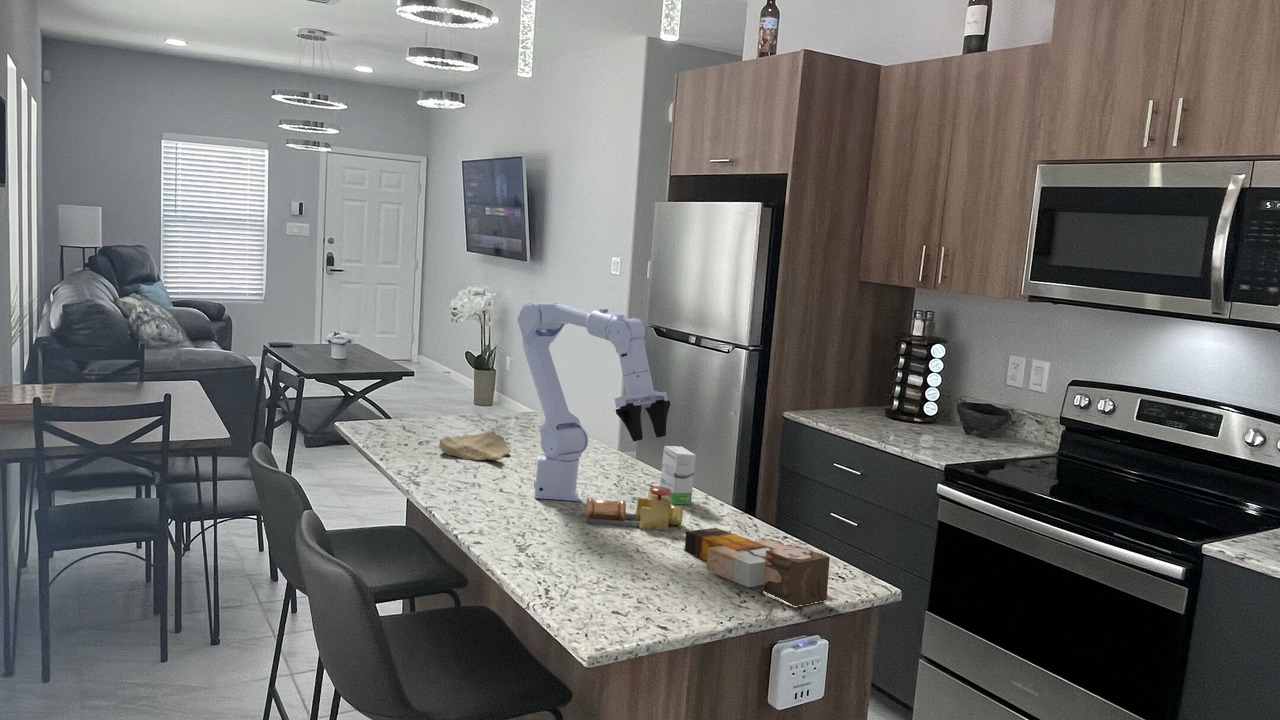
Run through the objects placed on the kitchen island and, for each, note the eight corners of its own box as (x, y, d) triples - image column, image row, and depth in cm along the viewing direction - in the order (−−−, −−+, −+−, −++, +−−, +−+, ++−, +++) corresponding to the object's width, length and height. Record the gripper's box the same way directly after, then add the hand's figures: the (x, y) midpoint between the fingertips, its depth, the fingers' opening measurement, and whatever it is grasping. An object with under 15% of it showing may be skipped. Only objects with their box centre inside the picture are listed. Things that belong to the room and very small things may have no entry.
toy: (730, 516, 188) (844, 554, 164) (727, 554, 189) (840, 598, 165) (671, 523, 179) (782, 565, 155) (668, 563, 180) (779, 611, 156)
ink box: (691, 504, 214) (697, 454, 213) (672, 504, 212) (678, 454, 211) (676, 493, 222) (682, 445, 221) (657, 493, 220) (663, 445, 219)
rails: (586, 523, 192) (586, 518, 192) (584, 515, 198) (585, 510, 197) (639, 527, 194) (639, 522, 193) (636, 518, 199) (636, 514, 199)
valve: (639, 528, 193) (643, 493, 192) (635, 517, 200) (639, 482, 199) (682, 531, 194) (686, 496, 193) (676, 520, 201) (680, 485, 200)
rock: (522, 454, 244) (524, 438, 244) (497, 470, 230) (499, 453, 229) (462, 441, 249) (464, 425, 248) (434, 455, 234) (435, 439, 233)
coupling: (586, 520, 193) (588, 499, 193) (584, 517, 197) (586, 496, 197) (624, 523, 194) (626, 502, 194) (622, 520, 198) (624, 499, 198)
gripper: (627, 371, 186) (641, 438, 185) (672, 368, 197) (686, 431, 196) (602, 379, 191) (615, 444, 189) (647, 376, 202) (660, 437, 200)
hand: (649, 438), depth 193 cm, fingers open, 7 cm apart
